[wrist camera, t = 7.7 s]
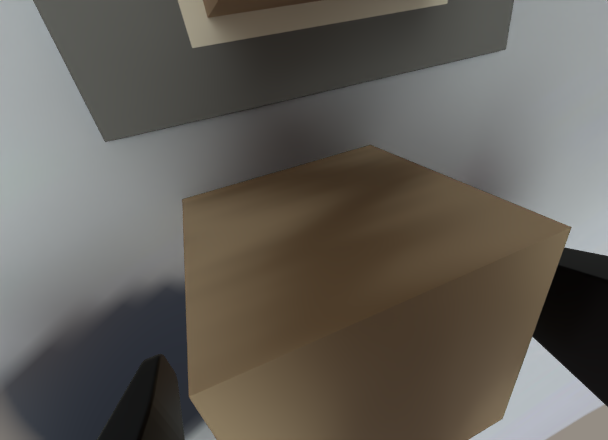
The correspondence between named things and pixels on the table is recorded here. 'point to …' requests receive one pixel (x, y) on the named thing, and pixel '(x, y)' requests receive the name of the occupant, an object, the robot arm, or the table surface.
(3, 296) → the table surface
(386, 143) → the table surface
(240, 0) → the walnut block
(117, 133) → the mat
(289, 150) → the table surface
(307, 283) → the oak block
